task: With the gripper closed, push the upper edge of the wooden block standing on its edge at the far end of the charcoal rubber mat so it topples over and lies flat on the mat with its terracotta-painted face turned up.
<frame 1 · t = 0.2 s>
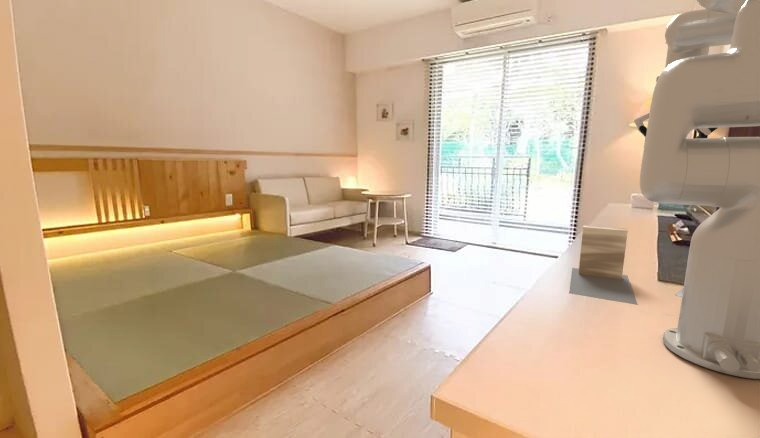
hand: (673, 152, 86), 31 cm above the worktop, tool pointing down, fingers open, 9 cm apart
mat: (600, 285, 81), on the worktop
smartphone: (701, 297, 76), on the worktop
wooden block: (599, 275, 87), resting on mat
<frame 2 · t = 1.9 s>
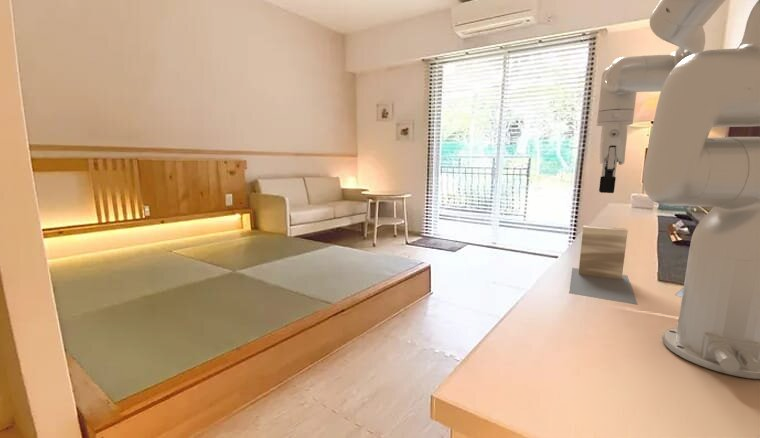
hand: (606, 192, 90), 21 cm above the worktop, tool pointing down, fingers closed
nothing on the worktop moved.
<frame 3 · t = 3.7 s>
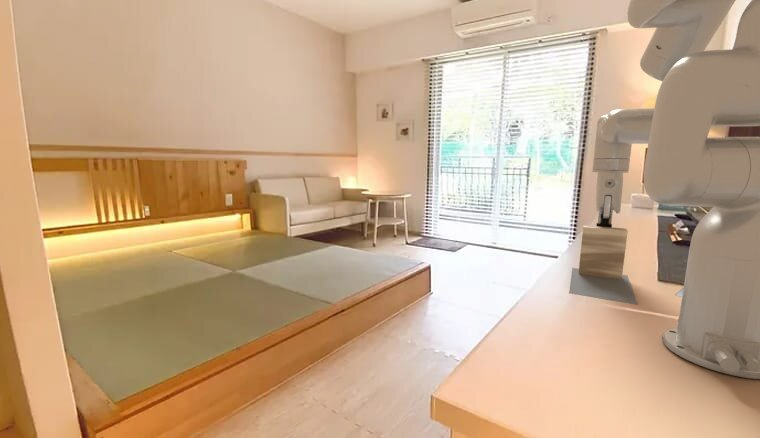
hand: (602, 239, 89), 9 cm above the worktop, tool pointing down, fingers closed
wooden block: (599, 275, 87), resting on mat, touching gripper
everything else where it was.
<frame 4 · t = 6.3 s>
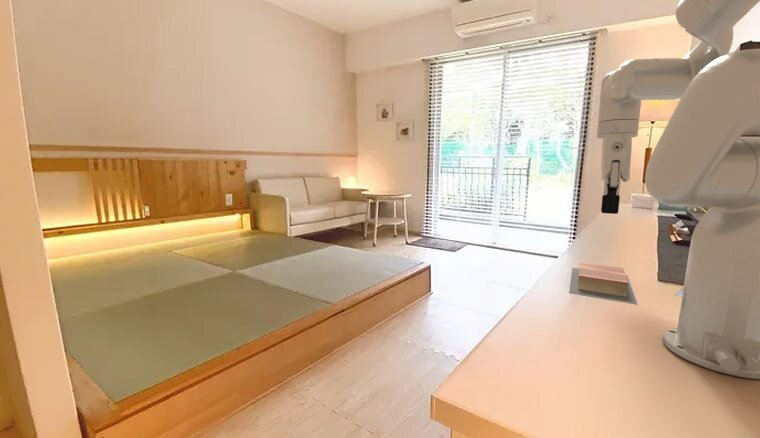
hand: (609, 212, 80), 17 cm above the worktop, tool pointing down, fingers closed
wooden block: (600, 271, 86), point 2 cm above the worktop, tilted 90°, touching mat
everything else where it was.
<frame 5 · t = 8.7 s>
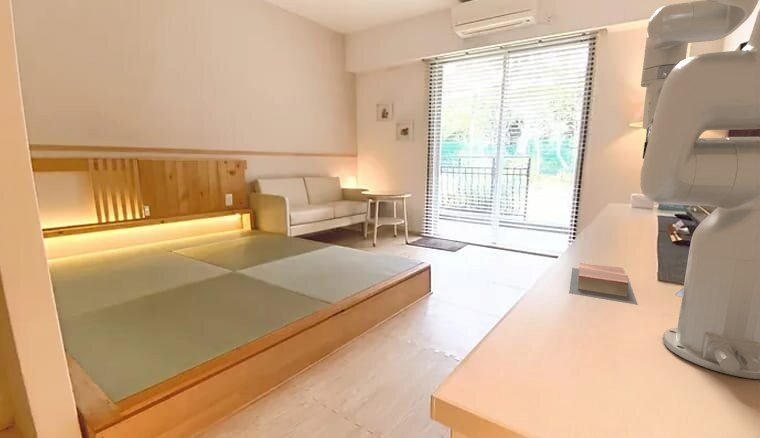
hand: (651, 158, 83), 29 cm above the worktop, tool pointing down, fingers closed
nothing on the worktop moved.
at the end: wooden block tilted 90°; wooden block inside the target area on the mat (1.9 cm from its centre), point 2.0 cm above the mat's base; wooden block touching mat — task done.
